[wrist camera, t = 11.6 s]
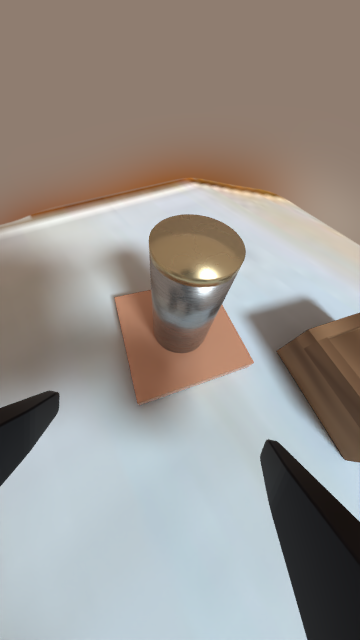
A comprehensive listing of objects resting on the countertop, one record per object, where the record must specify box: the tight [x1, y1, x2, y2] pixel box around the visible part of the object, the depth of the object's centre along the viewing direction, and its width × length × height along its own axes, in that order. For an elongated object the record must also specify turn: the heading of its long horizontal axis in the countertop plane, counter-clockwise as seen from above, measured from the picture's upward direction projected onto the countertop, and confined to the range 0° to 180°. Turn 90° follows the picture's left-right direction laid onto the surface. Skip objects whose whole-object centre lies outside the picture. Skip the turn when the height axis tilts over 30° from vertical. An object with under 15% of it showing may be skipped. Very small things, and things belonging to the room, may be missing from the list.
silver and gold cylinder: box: [149, 215, 246, 353], centre depth 13 cm, size 5×5×9 cm
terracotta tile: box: [115, 290, 254, 405], centre depth 17 cm, size 10×10×1 cm
